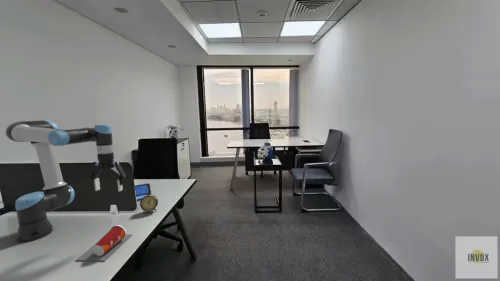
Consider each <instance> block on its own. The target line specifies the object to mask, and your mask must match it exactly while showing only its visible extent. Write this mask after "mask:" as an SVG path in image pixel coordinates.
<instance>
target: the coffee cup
mask: <svg viewBox="0 0 500 281" xmlns="http://www.w3.org/2000/svg"><path fill="white" fill-rule="evenodd" d="M126 234H127V230H126V228H125V227H124V226H123V225H120V224H117V225H113V226H112V227H111V229H110V230H109V231H108V232H106V233H105V234H104V235H103V236H102V237H101V238H100V239H99V240H98V241H97V242H96V243H95V244H94V245H92V247H93V249H92V250H93V252H94V254H96V255H97V256H102V255H103V254H105V253H106V252H107V251H108V250H109V249H111V248H112V247H113V246H114V245H115V244H116V243H118V242H119V241H120V240H121V239H123V238H124V237H125V235H126Z"/></svg>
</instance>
